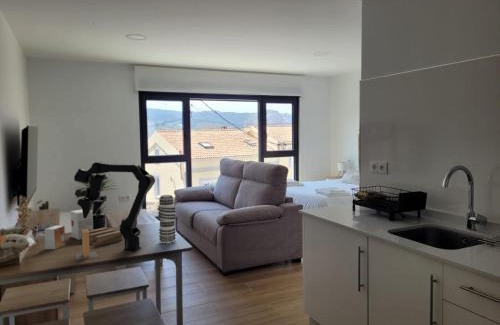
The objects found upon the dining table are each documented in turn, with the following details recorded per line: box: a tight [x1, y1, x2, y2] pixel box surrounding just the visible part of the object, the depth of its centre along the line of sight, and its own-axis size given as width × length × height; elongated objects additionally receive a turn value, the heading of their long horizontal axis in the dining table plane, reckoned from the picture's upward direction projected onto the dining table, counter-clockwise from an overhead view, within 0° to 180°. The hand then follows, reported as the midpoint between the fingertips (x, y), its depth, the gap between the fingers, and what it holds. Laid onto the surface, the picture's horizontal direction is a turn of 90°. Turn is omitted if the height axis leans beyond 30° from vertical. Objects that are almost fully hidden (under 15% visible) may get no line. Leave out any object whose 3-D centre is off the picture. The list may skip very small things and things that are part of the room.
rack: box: [89, 227, 123, 247], centre depth 203 cm, size 16×14×5 cm
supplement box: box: [70, 209, 94, 241], centre depth 211 cm, size 9×9×15 cm
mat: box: [75, 251, 99, 261], centre depth 178 cm, size 9×9×1 cm
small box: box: [44, 224, 66, 250], centre depth 192 cm, size 8×6×10 cm
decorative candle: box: [157, 194, 177, 244], centre depth 200 cm, size 9×9×25 cm
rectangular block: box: [81, 229, 91, 258], centre depth 177 cm, size 2×6×12 cm, turn 28°
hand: (89, 216), depth 188 cm, fingers open, 9 cm apart
